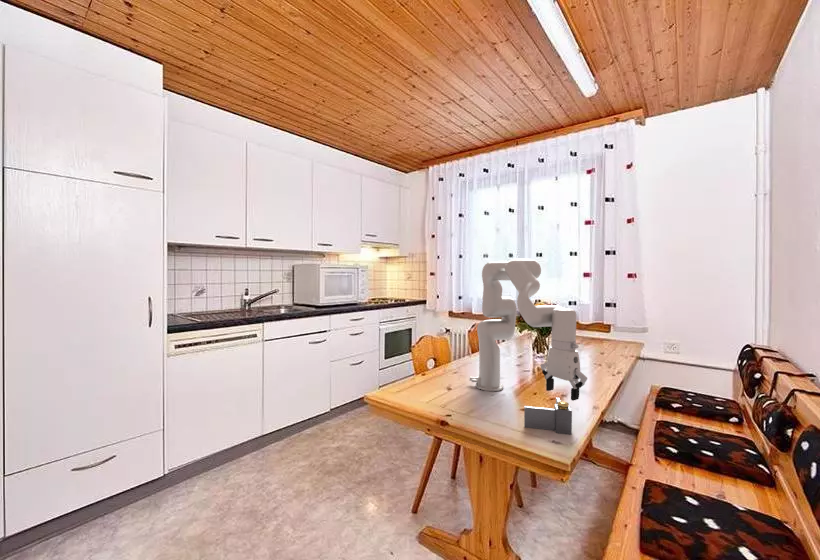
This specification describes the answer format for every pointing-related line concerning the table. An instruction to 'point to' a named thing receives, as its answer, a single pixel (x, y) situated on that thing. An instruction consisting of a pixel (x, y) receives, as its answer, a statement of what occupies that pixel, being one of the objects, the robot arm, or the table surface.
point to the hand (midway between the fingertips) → (561, 394)
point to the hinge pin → (563, 405)
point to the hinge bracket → (549, 418)
